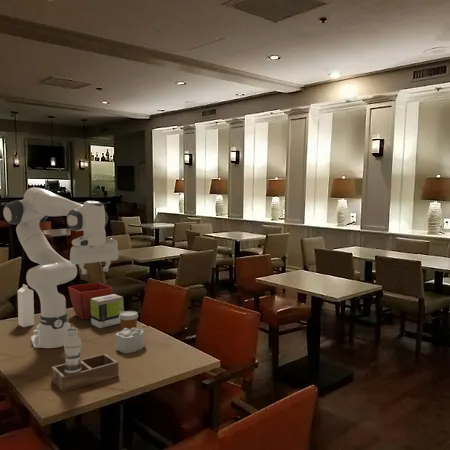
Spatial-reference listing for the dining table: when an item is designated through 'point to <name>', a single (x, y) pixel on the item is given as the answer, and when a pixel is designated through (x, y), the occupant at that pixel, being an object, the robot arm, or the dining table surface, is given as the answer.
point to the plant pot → (86, 297)
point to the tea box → (106, 310)
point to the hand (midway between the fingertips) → (95, 272)
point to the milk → (25, 306)
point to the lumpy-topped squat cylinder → (130, 340)
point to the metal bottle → (72, 352)
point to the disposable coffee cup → (128, 319)
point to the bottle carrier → (86, 372)
